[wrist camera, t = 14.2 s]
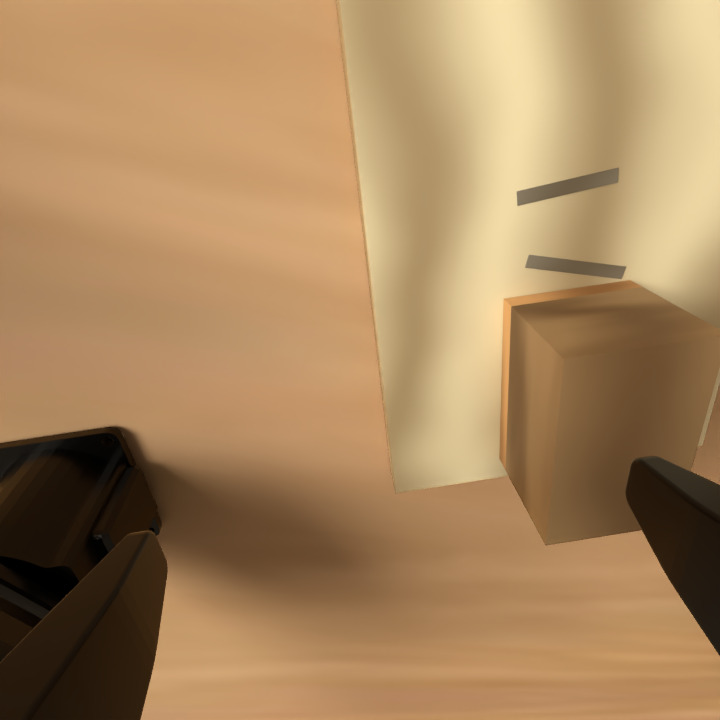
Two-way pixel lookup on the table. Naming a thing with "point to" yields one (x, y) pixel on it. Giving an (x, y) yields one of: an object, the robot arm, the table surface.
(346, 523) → the table surface
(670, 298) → the pine board
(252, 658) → the table surface
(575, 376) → the block
